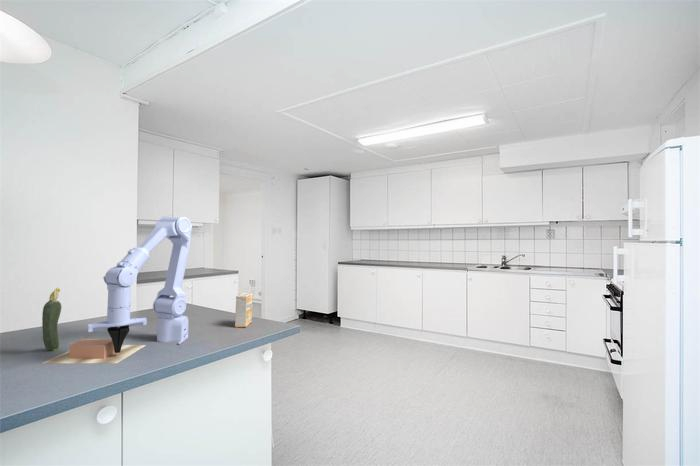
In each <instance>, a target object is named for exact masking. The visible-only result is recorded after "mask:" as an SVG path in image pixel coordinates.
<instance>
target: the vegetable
mask: <svg viewBox="0 0 700 466" xmlns="http://www.w3.org/2000/svg"><path fill="white" fill-rule="evenodd" d="M60 291H61V288H59V287H56V288H55V289H54V290H53V291H52V292H51V294H50V295H49V299H48V301H47V302H45V304H44V305H43V308H42V313H41V315H42V316H41V317H42V319H41V320H42V322H41V324H42V327H41V328H42V340H43V344H44V348H45V349H46V350H47V351H49V352H53V351H59V349H60V341H59V332H58V324H59V320H60V317H61V316H60V315H61V312H62V303H61V301H59V300H58V298H59V294H60V293H59V292H60Z"/></svg>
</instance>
